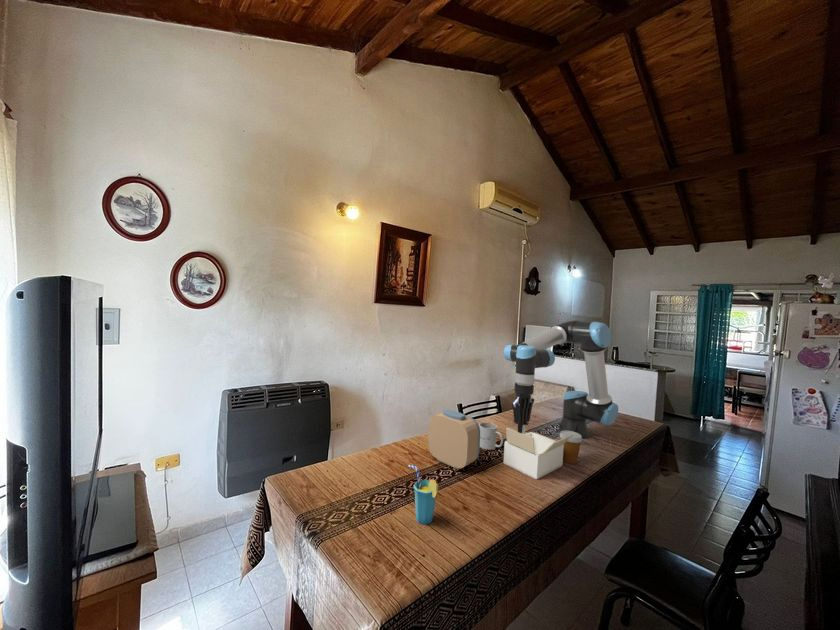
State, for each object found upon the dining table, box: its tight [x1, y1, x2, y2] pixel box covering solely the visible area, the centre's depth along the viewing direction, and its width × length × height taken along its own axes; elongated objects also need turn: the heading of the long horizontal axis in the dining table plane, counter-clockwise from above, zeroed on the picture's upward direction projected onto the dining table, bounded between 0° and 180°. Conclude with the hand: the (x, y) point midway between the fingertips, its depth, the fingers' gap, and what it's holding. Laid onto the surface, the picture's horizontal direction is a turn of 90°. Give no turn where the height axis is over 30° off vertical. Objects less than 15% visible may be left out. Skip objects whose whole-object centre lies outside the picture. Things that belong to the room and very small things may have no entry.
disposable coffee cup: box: [558, 431, 583, 465], centre depth 150 cm, size 10×10×12 cm
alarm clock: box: [427, 409, 481, 471], centre depth 142 cm, size 21×10×22 cm, turn 47°
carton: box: [503, 431, 564, 481], centre depth 144 cm, size 21×17×10 cm
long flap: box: [543, 435, 573, 454], centre depth 135 cm, size 15×7×1 cm
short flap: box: [505, 426, 534, 453], centre depth 137 cm, size 6×13×1 cm
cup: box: [407, 464, 439, 525], centre depth 105 cm, size 14×8×15 cm, turn 46°
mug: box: [478, 421, 504, 451], centre depth 160 cm, size 12×9×10 cm
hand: (520, 439), depth 137 cm, fingers closed
